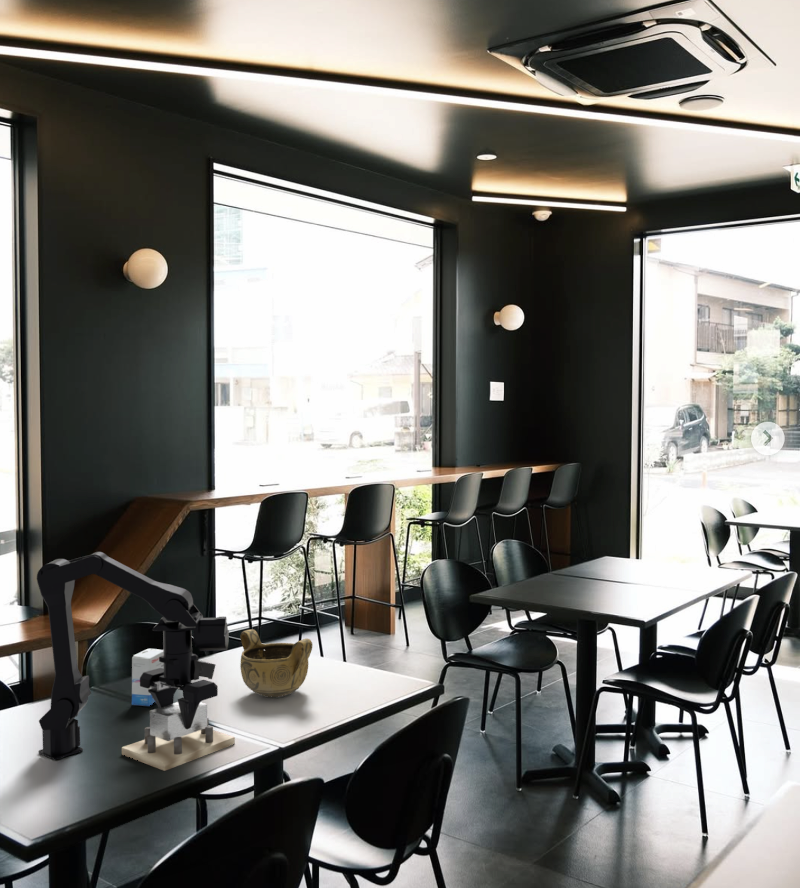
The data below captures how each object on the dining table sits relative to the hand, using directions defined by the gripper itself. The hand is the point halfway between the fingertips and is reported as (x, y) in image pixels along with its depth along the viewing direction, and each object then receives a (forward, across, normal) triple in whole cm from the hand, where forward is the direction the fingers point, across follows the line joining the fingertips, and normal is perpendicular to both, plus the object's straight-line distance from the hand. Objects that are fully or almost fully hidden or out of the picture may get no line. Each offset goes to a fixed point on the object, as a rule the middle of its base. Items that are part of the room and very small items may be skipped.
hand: (178, 725), depth 186 cm
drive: (+1, 0, 0) cm, 1 cm away
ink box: (+5, +32, -16) cm, 36 cm away
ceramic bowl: (+5, +11, -38) cm, 40 cm away
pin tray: (+5, 0, 0) cm, 5 cm away
